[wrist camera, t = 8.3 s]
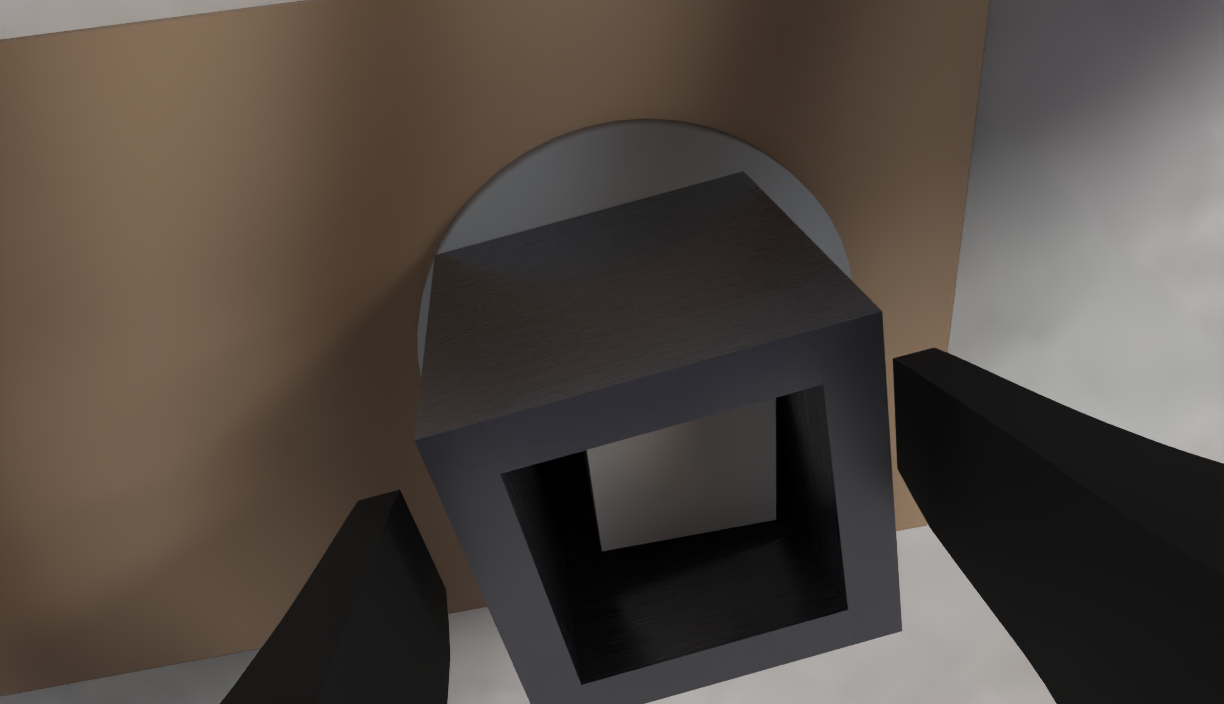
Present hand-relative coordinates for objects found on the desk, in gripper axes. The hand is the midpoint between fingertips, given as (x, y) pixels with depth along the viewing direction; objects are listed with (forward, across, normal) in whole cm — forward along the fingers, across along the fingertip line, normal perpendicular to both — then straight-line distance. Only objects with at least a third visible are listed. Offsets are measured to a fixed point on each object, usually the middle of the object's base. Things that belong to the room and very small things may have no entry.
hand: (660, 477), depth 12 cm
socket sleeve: (+3, 0, 0) cm, 3 cm away
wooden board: (+5, +4, -1) cm, 6 cm away
